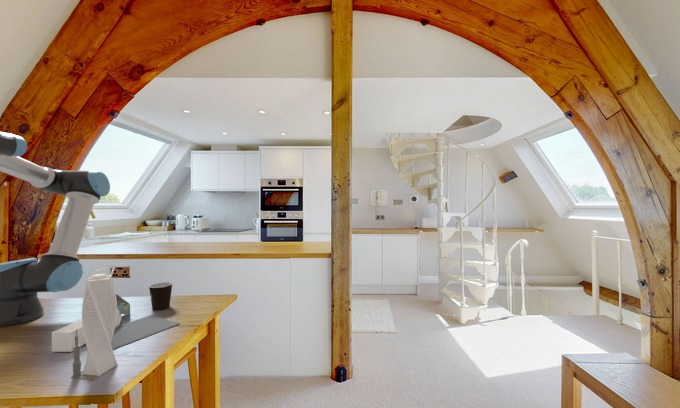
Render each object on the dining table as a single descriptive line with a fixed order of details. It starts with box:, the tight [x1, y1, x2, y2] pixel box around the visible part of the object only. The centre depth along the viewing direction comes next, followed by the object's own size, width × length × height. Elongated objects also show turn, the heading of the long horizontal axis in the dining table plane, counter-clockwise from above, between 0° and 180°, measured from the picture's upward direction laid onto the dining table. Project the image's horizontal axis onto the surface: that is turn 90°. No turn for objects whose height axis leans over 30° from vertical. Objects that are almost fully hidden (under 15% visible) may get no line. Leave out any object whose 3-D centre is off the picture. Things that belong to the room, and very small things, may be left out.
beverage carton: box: [116, 293, 131, 321], centre depth 120 cm, size 8×19×7 cm, turn 51°
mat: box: [111, 314, 180, 350], centre depth 104 cm, size 18×24×1 cm
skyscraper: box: [70, 265, 118, 381], centre depth 80 cm, size 8×8×28 cm
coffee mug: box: [148, 281, 173, 312], centre depth 129 cm, size 12×9×10 cm
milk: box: [51, 310, 125, 353], centre depth 101 cm, size 6×6×22 cm
